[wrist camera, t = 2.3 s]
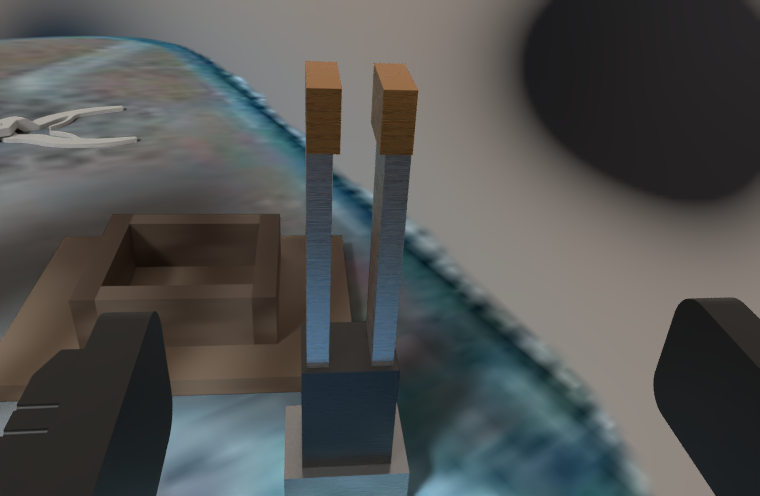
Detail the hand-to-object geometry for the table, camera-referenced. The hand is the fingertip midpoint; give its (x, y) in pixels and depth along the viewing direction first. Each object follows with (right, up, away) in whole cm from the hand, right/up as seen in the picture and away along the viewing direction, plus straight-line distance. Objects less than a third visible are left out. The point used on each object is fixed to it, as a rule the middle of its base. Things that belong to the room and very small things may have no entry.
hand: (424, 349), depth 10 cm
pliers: (-32, +12, +50) cm, 60 cm away
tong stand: (-11, -2, +28) cm, 30 cm away
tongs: (-2, -8, +19) cm, 20 cm away
